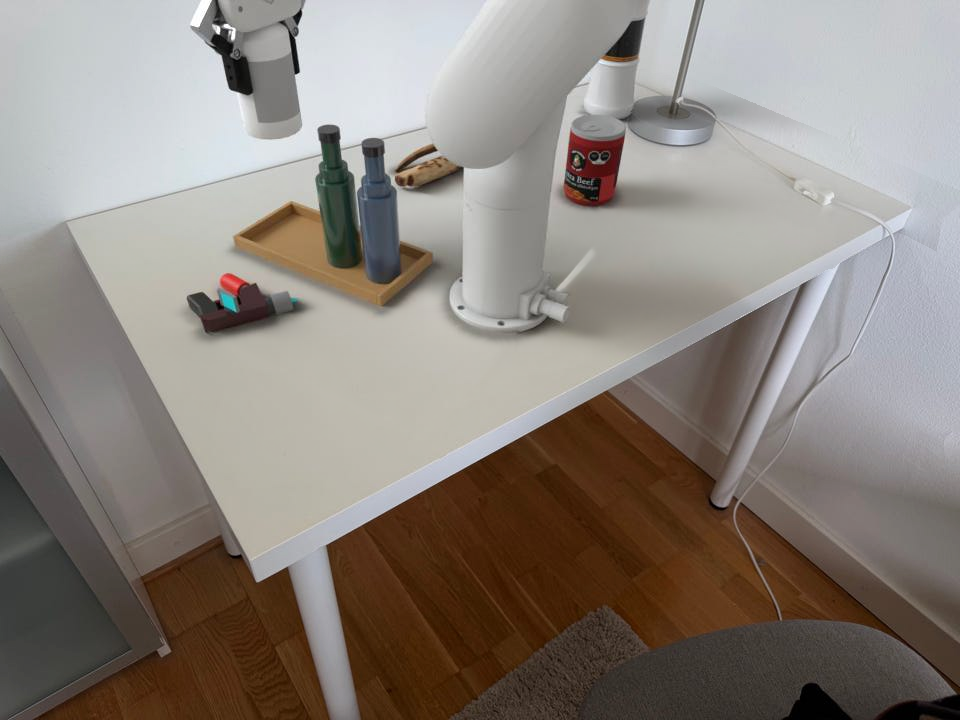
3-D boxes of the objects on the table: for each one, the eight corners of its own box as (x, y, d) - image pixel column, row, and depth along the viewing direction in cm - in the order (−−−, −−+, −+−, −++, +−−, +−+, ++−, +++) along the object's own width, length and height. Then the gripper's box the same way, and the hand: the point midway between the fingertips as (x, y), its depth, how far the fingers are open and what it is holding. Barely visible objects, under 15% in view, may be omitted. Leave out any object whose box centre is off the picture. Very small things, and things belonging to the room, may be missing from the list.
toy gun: (305, 314, 82) (298, 281, 79) (201, 343, 78) (190, 309, 75) (282, 272, 88) (276, 239, 85) (185, 296, 84) (174, 263, 81)
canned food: (552, 192, 106) (559, 123, 98) (587, 177, 110) (596, 109, 102) (589, 212, 101) (600, 141, 94) (624, 195, 105) (637, 126, 98)
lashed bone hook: (452, 147, 117) (370, 180, 107) (452, 120, 114) (368, 151, 104) (492, 164, 112) (411, 200, 102) (493, 136, 109) (409, 170, 99)
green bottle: (369, 255, 91) (357, 126, 79) (347, 272, 88) (331, 141, 76) (342, 245, 92) (326, 117, 80) (319, 261, 89) (299, 131, 77)
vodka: (583, 120, 126) (608, -70, 106) (582, 100, 133) (605, -81, 112) (634, 123, 125) (669, -67, 105) (630, 103, 132) (662, -79, 112)
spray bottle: (289, 144, 80) (260, -30, 68) (234, 137, 81) (196, -36, 68) (311, 120, 85) (288, -46, 73) (259, 114, 86) (228, -51, 73)
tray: (433, 265, 90) (432, 252, 89) (381, 310, 83) (380, 296, 82) (293, 213, 99) (291, 200, 98) (235, 249, 92) (232, 236, 90)
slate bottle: (408, 270, 88) (402, 139, 76) (387, 288, 85) (376, 155, 73) (380, 259, 90) (369, 130, 78) (358, 276, 87) (343, 144, 75)
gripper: (190, -85, 60) (233, 115, 72) (321, -110, 71) (339, 66, 83) (132, -96, 63) (182, 98, 75) (267, -119, 74) (292, 53, 86)
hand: (265, 80), depth 79 cm, fingers closed on spray bottle, 6 cm apart
